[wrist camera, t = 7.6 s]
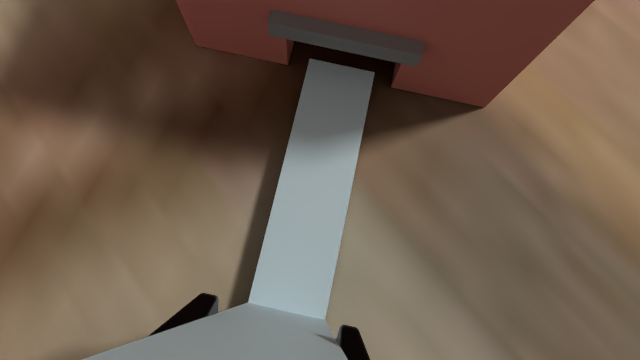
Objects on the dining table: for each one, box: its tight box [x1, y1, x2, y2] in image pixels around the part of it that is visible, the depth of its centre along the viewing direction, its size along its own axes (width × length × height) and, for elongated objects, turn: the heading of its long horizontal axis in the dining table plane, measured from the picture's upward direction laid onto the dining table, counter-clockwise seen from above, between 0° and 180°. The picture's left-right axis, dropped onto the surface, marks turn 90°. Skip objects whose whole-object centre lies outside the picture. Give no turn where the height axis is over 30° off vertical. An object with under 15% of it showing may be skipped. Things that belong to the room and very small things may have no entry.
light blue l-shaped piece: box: [82, 59, 375, 360], centre depth 11 cm, size 13×3×12 cm, turn 168°
